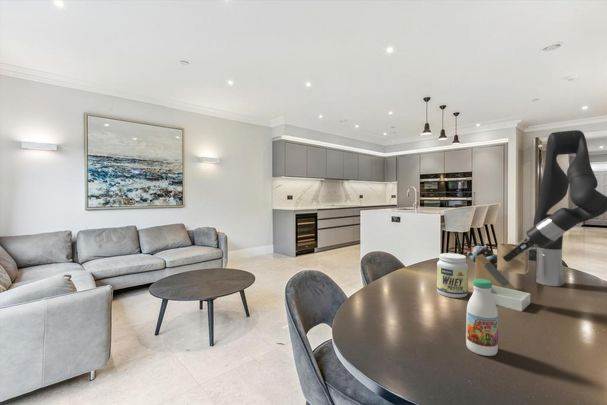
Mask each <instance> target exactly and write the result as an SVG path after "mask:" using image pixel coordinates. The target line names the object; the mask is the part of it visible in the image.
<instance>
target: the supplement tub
mask: <svg viewBox="0 0 607 405" xmlns="http://www.w3.org/2000/svg"><path fill="white" fill-rule="evenodd" d="M438 259H439V260H438V261H437V263H436V290H437V293H438V294H440V295H442V296H444V297H448V298H453V299H454V298H455V299H460V298H466V297H467V295H468V293H469V290H468V289H469V265H468V263H467V257H466V255H464V254H460V253H449V252H445V253H444V252H443V253H440V254H439V257H438Z"/></svg>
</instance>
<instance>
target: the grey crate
mask: <svg viewBox="0 0 607 405" xmlns="http://www.w3.org/2000/svg"><path fill="white" fill-rule="evenodd" d="M491 295H492V298H493V300H494V302H495V304H496V306H500V307H502V308H508V309H511V310H514V311H518V312H523V311H524V310H525V309H526V308H527V307H528V306H529V305H530V304H531V293H529V292H524V291H520V290H518V291H516V290H512V289H507V288H502V287H497V286H493V285H492V290H491Z"/></svg>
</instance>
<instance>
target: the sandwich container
mask: <svg viewBox="0 0 607 405" xmlns="http://www.w3.org/2000/svg"><path fill="white" fill-rule="evenodd" d="M474 264H475V273H474V274H475V275H474V276H475V278H474V279H486V280H489V281H491V282H492V285H493V286H497V287H502V288H507V289H512V290H516V291H519V290H518V289H517V288H516V287H515V286H514V285H513V284H512V283H511V282H510V281H509V280H508V279H507V278H506V277H505V276H504V275H503V274H502V273H501V272H500V270H497V267H495V265H494V264H493V265H492V264H491V263H490V261H489V260H488V259H487V258H486V257H485V256H484V255H483V254H481V255H478V256H476V262H474Z"/></svg>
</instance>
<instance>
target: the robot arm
mask: <svg viewBox="0 0 607 405" xmlns="http://www.w3.org/2000/svg"><path fill="white" fill-rule="evenodd" d="M588 148H589V147H588V144H587V139H586V135H585V133H584V132H583V131H581V130H578V129H576V130H575V129H573V130H564V131H562V130H561V131H555V132H551V133H550V134H549V135H548V138H547V141H546V147H545V159H544V160H545V162H544V168H543V175H542V179H541V182H540V189H539V196H538V203H537V206H536V211H535V214H534V218H533V223H532V224H533V225H532V227H531V228H529V229H528V230H526V236H527V237H528V238H525V239H523V240H522V241H520V243H518V244H516V245H517V246H515V248H514V249H513V250H511V251H510V253H508V254H507V255H506V256H504V257H503V259H504V260H505V261H506V262H508V261H510V260H511V259H513V258H514V257H517V256H518V255H519V254H523V253H525V252H526V251H528V250H529V251H531V250H533V249H534V248H536V271H535V272H536V280H535V282H536V283H537V284H540V285H543V286H546V287H547V286H549V287H561V286H564V285H565V284H564V281H565V278H564V276H565V274H564V273H565V265H564V264H563V244H564V243H563V239H564V238H563V237H564V234H565V233H566V232H568V231H569V230H571V229H572V228H574V227H575V226H577V225H578V224H579V225H580V224H581V223H585V222H587V221H590V220H593V219H594V218H597V217H600V216H602V215H603V214H605V213H606V212H607V196H606V195H604V194H603V193H601V192H600V191H598V190H597V189H596V188H598V180H597V178H596V175H595V173H594V170H593V168H592V165H591V164H592V163H591V161H590V160H591V159H590V155H589V149H588ZM572 154H575V157H574V159H573V160H572V162H570V164H569V166H568V167H567V170H566V173H565V171H564V170H563V169H562V168H561V165H560V164H559V162H558V160H557V158H558V156H560V155H561V156H563V155H572ZM569 185H570V190H569V196H570V200H571V202H572V203H573V204H574V205H575V206H576V207H575V208H568V207H561V208H559V209H558V210H556V211H554V212H553V213H548V212H549V211H550V210H551V209H552V208H553V207H555V206H556V205H557V204H559V203H560V202H561V201H562V200H563V199H565V197H566V196H567V194H568V189H569ZM515 250H517V251H518V252H519V253H518V254H517V253H516V252H515Z"/></svg>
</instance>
